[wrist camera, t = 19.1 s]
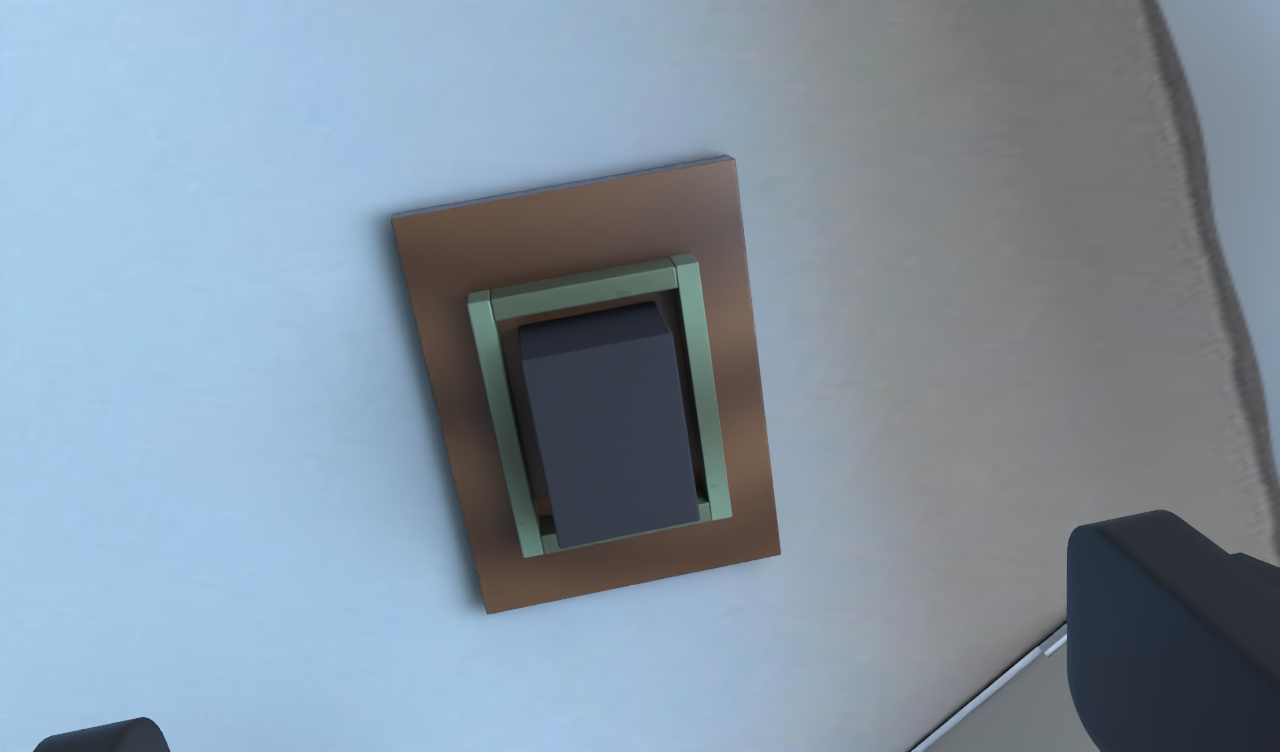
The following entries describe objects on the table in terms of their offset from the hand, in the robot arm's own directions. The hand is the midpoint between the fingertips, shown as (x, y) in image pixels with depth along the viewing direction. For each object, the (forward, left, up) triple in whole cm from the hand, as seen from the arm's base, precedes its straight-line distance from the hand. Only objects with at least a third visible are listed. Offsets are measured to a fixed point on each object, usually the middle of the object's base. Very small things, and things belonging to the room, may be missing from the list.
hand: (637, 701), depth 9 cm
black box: (+8, +1, -27) cm, 28 cm away
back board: (+8, +1, -28) cm, 29 cm away
